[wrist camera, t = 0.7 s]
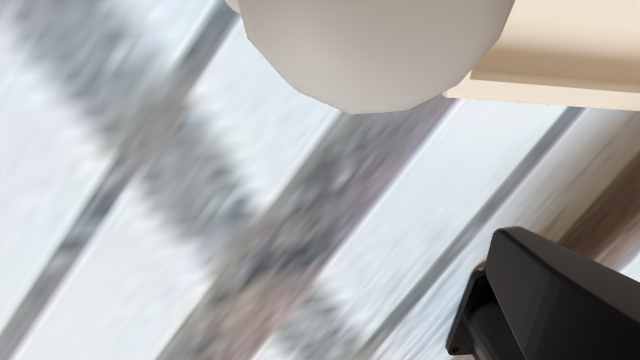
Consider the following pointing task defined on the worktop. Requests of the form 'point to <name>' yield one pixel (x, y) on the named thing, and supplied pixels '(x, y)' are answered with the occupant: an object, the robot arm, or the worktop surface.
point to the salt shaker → (373, 46)
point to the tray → (562, 56)
